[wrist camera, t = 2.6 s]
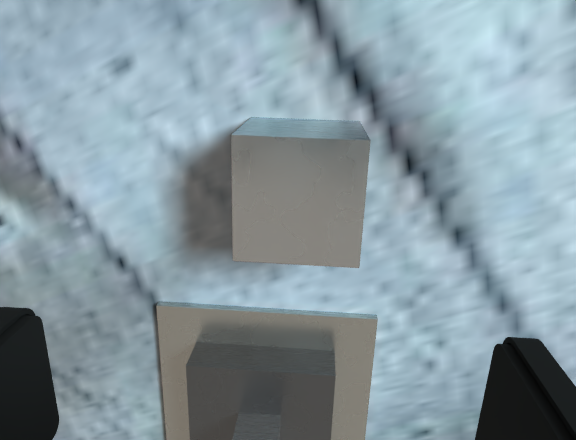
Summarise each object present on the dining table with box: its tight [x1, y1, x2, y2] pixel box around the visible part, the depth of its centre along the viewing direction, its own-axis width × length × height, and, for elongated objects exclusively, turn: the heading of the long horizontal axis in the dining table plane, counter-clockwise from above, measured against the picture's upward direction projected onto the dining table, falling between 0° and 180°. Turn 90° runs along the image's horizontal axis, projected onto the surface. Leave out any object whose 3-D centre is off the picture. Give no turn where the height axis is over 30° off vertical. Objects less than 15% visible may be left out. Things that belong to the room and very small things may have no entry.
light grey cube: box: [231, 117, 370, 268], centre depth 24 cm, size 6×6×6 cm
